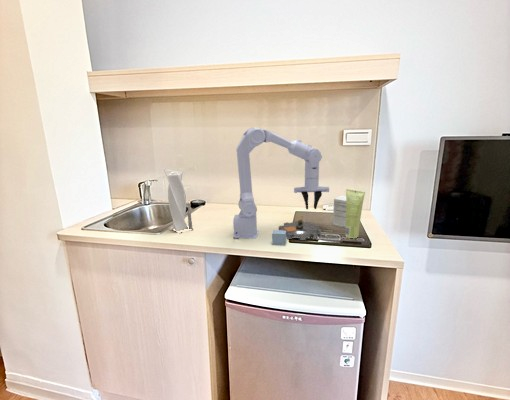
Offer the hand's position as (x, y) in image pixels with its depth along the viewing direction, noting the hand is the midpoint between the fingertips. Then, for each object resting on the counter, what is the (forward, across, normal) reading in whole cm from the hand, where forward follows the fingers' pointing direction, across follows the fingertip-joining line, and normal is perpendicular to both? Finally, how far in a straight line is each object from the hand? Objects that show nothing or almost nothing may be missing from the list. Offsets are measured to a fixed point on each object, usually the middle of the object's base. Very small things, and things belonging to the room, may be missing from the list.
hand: (311, 208), depth 120 cm
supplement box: (+10, -16, -5) cm, 19 cm away
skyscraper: (+10, +58, -1) cm, 59 cm away
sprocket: (+9, +5, +5) cm, 12 cm away
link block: (+10, +14, +16) cm, 23 cm away
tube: (+10, -15, +11) cm, 21 cm away
